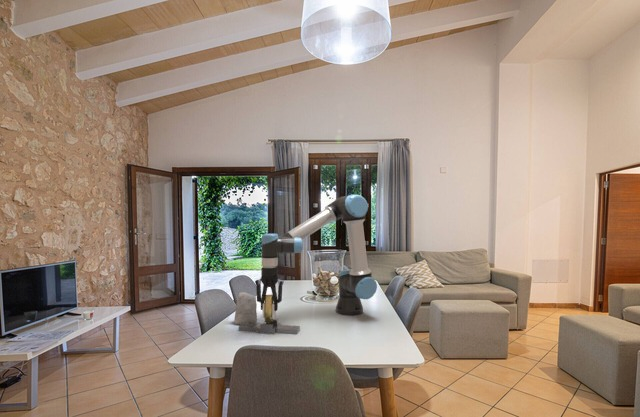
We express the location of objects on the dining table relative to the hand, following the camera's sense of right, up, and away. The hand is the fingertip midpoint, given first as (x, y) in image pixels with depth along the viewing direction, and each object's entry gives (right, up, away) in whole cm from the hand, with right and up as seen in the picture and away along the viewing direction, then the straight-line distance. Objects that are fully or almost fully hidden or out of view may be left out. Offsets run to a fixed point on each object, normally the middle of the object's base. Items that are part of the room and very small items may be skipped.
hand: (269, 317), depth 149 cm
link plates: (0, -6, 0) cm, 6 cm away
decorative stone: (-13, -7, +10) cm, 18 cm away
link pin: (0, -2, 0) cm, 2 cm away
